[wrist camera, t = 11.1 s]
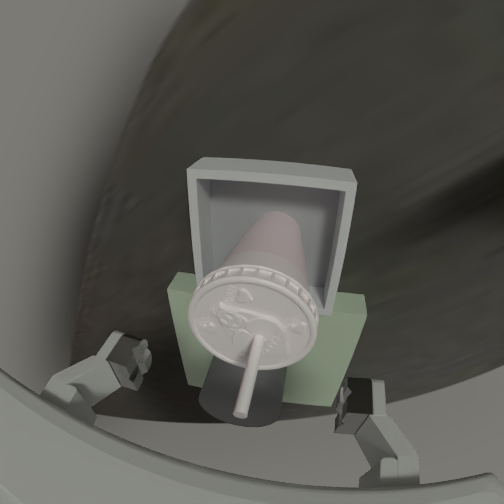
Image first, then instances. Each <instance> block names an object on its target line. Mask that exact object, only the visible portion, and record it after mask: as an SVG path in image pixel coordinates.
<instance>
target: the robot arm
mask: <svg viewBox="0 0 504 504" xmlns="http://www.w3.org/2000/svg"><path fill="white" fill-rule="evenodd" d="M147 346H148V343H147V340H145V339H141V338H138V337H135V336H132V335H128V334H126V333H122V332H119V331H114V332H112V334H111V335H110V336H109V338H108V339H107V341H106V342H105V344H104V345H103V346H102V348H101V349H100V351H99V352H98V354H97V355H96V356H94V355H93V356H91V357H89V358H87V359H85V360H83V361H81V362H79V363H77V364H75V365H73V366H71V367H69V368H67V369H65V370H63V371H61V372H59V373H57V374H55V375H53V377H52V378H51V379H50V381H49V382H48V384H47V385H46V387H45V388H44V390H43V391H42V392H41V394H40V395H38V394H37V393H35V392H34V391H32V390H31V389H29V388H27V387H26V386H24V385H23V384H21V383H20V382H19V381H17V380H16V379H14V378H13V377H11V376H10V375H9V374H7V373H6V372H5V371H3V370H2V369H1V368H0V504H504V484H503V483H502V482H501V481H500V480H499V479H498V477H497V476H495V475H494V474H493V473H483V474H479V475H474V476H470V477H465V478H460V479H455V480H449V481H442V482H436V483H428V484H420V481H419V480H420V478H419V455H418V454H417V452H416V451H415V450H414V448H413V447H412V446H411V444H410V443H409V441H408V440H407V439H406V437H405V436H404V435H403V433H402V432H401V430H400V429H399V428H398V426H397V425H396V424H395V422H394V421H393V420H392V418H391V417H390V416H389V415H388V416H387V415H386V400H385V386H384V381H383V380H377V379H367V378H352V377H346V378H345V380H344V382H343V387H342V388H340V391H339V394H338V397H337V404H336V410H337V412H338V415H337V417H336V419H335V432H334V433H340V434H352V435H354V436H355V438H356V440H357V442H358V444H359V445H360V447H361V449H362V451H363V453H364V455H365V457H366V459H367V461H368V463H369V464H370V466H371V469H370V470H369V471H368V472H366V473H365V474H364V475H363V476H361V477H360V479H359V488H347V487H324V486H323V487H322V486H311V485H300V484H291V483H284V482H276V481H270V480H263V479H258V478H252V477H247V476H242V475H237V474H232V473H228V472H223V471H219V470H215V469H211V468H207V467H203V466H200V465H196V464H193V463H190V462H186V461H183V460H180V459H176V458H173V457H170V456H167V455H164V454H162V453H159V452H156V451H153V450H150V449H148V448H145V447H142V446H140V445H137V444H135V443H132V442H130V441H127V440H125V439H123V438H120V437H118V436H116V435H113V434H111V433H109V432H107V431H105V430H102V429H100V428H98V427H96V426H94V425H93V424H94V422H95V420H96V418H97V416H96V414H95V413H94V411H93V410H92V409H91V407H92V406H93V405H95V404H96V403H98V402H99V401H101V400H102V399H104V398H105V397H106V396H108V395H109V394H111V393H112V392H114V391H115V390H117V389H118V388H120V387H121V386H124V387H127V388H130V389H133V390H136V391H137V390H138V389H139V387H140V385H141V383H142V381H143V374H144V373H146V372H148V370H149V368H150V366H151V362H152V355H151V352H150V351H149V350H148V349H147ZM120 385H121V386H120Z"/></svg>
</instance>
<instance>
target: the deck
mask: <svg viewBox="0 0 504 504" xmlns="http://www.w3.org/2000/svg"><path fill="white" fill-rule="evenodd" d="M187 181H188V196H189V210H190V222H191V234H192V245H193V256H194V266H195V274H190V273H183V272H178V273H177V274H176V276H175V277H174V279H173V281H172V282H171V284H170V285H169V287H168V288H167V292H168V297H169V302H170V307H171V312H172V317H173V322H174V326H175V331H176V336H177V340H178V345H179V349H180V353H181V357H182V362H183V366H184V370H185V374H186V378H187V382H188V385H192V386H196V387H201V388H202V389H201V392H200V395H199V403H200V405H201V406H202V408H203V409H204V410H205V411H206V412H208V413H209V414H210V415H212V416H214V417H215V418H217V419H219V420H222V421H224V422H227V423H230V424H234V425H238V426H244V427H262V426H266V425H270V424H272V423H274V422H276V421H277V420H278V419H279V417H280V412H281V406H282V402H289V403H298V404H308V405H319V406H331V405H332V403H333V401H334V398H335V396H336V394H337V392H338V389H339V387H340V385H341V382H342V380H343V378H344V375H345V373H346V370H347V368H348V365H349V363H350V360H351V358H352V355H353V353H354V350H355V347H356V345H357V342H358V339H359V337H360V334H361V331H362V328H363V326H364V323H365V320H366V317H367V311H366V304H365V298H364V295H362V294H352V293H342V292H337V288H338V284H339V279H340V275H341V270H342V265H343V261H344V256H345V251H346V246H347V240H348V235H349V230H350V224H351V219H352V213H353V207H354V201H355V194H356V188H357V181H356V179H355V177H354V174H353V172H352V170H351V169H346V168H338V167H330V166H321V165H312V164H302V163H292V162H280V161H267V160H252V159H234V158H209V157H203V158H201V159H200V160H198V161H197V162H196V163H194V164H193V165H192V166H190V167H189V168H187ZM268 212H281V213H284V214H287V215H289V216H290V217H292V218H293V219H294V220H295V221H296V223H297V224H298V226H299V228H300V231H301V237H302V243H303V250H304V257H305V263H306V270H307V277H308V285H309V290H310V295H311V296H312V298H313V300H314V302H315V304H316V305H317V310H318V315H319V323H318V328H317V338H316V341H315V344H314V346H313V348H312V349H311V351H310V352H309V353H308V354H307V355H306V356H305V357H304V358H302V359H301V360H300V361H298V362H296V363H294V364H292V365H290V366H286V367H283V368H279V369H272V370H258V372H257V376H256V381H255V385H254V389H253V394H252V398H251V402H250V406H249V410H248V415H247V417H246V418H238V417H235V416H234V415H233V412H234V408H235V405H236V401H237V397H238V394H239V390H240V386H241V382H242V379H243V375H244V371H245V368H243V367H239V366H235V365H233V364H230V363H227V362H225V361H223V360H221V359H219V358H218V357H216V356H215V355H213V354H212V353H210V352H209V351H208V350H207V349H206V348H204V347H203V346H202V345H201V344H200V342H199V341H198V340H197V339H196V337H195V336H194V334H193V332H192V330H191V328H190V325H189V322H188V307H189V303H190V301H191V299H192V297H193V292H194V290H195V289H196V287H197V285H198V284H199V282H200V281H201V280H202V279H203V278H204V277H205V276H207V275H208V274H209V273H210V272H212V271H215V270H217V269H218V267H219V266H220V265H221V264H222V263H223V261H224V260H225V259H226V257H227V256H228V255H229V253H230V252H231V251H232V250H233V248H234V247H235V246H236V244H237V243H238V242H239V240H240V239H241V238H242V237H243V235H244V234H245V233H246V231H247V230H248V229H249V227H250V226H251V225H252V224H253V222H254V221H255V220H256V219H257V218H258V217H259V216H260V215H262V214H264V213H268Z"/></svg>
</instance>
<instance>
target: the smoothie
mask: <svg viewBox="0 0 504 504" xmlns="http://www.w3.org/2000/svg"><path fill="white" fill-rule="evenodd" d="M188 322H189V325H190V328H191V330H192V332H193V334H194V336H195V337H196V339H197V340H198V341H199V342H200V344H201V345H202V346H203V347H204V348H206V349H207V350H208V351H209V352H210V353H212V354H213V355H215V356H216V357H218V358H219V359H221V360H223V361H225V362H227V363H230V364H233V365H235V366H239V367H243V368H245V371H244V375H243V379H242V382H241V386H240V390H239V394H238V397H237V401H236V405H235V408H234V412H233V415H234V416H235V417H238V418H246V417H247V415H248V410H249V406H250V402H251V398H252V394H253V389H254V385H255V381H256V376H257V372H258V370H272V369H279V368H283V367H286V366H290V365H292V364H294V363H296V362H298V361H300V360H301V359H302V358H304V357H305V356H306V355H307V354H308V353H309V352H310V351H311V349H312V348H313V346H314V344H315V341H316V338H317V328H318V323H319V315H318V310H317V305H316V304H315V302H314V300H313V298H312V296H311V295H310V290H309V285H308V277H307V270H306V263H305V257H304V250H303V243H302V237H301V231H300V228H299V226H298V224H297V223H296V221H295V220H294V219H293V218H292V217H290V216H289V215H287V214H284V213H281V212H268V213H264V214H262V215H260V216H259V217H258V218H257V219H256V220H255V221H254V222H253V224H252V225H251V226H250V227H249V229H248V230H247V231H246V233H245V234H244V235H243V237H242V238H241V239H240V240H239V242H238V243H237V244H236V246H235V247H234V248H233V250H232V251H231V252H230V253H229V255H228V256H227V257H226V259H225V260H224V261H223V263H222V264H221V265H220V266H219V267H218V269H217V270H215V271H212V272H210V273H209V274H208V275H207V276H205V277H204V278H203V279H202V280H201V281H200V282H199V284H198V285H197V287H196V289H195V290H194V292H193V297H192V299H191V301H190V303H189V307H188Z"/></svg>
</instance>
